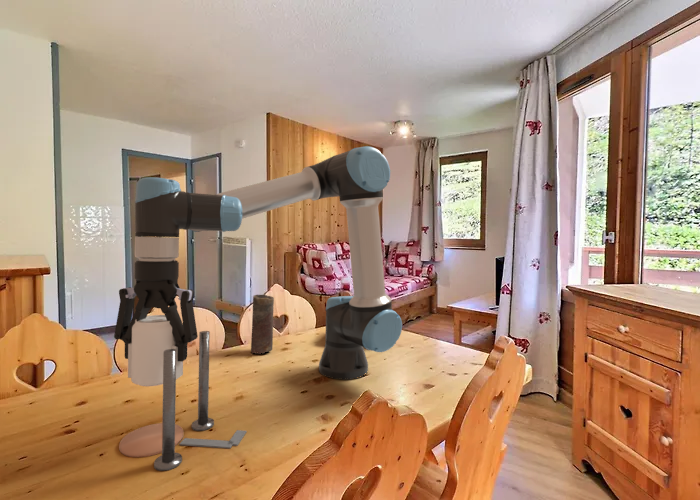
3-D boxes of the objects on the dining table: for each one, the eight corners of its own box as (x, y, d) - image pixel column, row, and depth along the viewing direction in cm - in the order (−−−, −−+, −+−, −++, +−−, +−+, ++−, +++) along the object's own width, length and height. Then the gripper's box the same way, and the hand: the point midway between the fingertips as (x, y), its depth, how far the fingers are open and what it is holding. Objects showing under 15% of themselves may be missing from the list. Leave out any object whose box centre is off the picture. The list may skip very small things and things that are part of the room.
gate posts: (217, 421, 79) (219, 329, 78) (173, 471, 61) (175, 355, 61) (197, 419, 79) (199, 329, 78) (148, 470, 62) (150, 354, 61)
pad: (193, 427, 76) (193, 424, 76) (163, 459, 65) (163, 455, 65) (143, 424, 76) (143, 421, 76) (104, 455, 65) (104, 451, 65)
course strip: (246, 432, 74) (246, 430, 74) (235, 448, 69) (235, 447, 68) (194, 428, 75) (194, 427, 75) (179, 445, 69) (179, 443, 69)
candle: (263, 347, 132) (264, 293, 132) (277, 351, 128) (278, 295, 128) (246, 352, 126) (247, 295, 126) (260, 357, 122) (261, 298, 121)
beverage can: (143, 372, 74) (144, 314, 74) (184, 372, 75) (185, 314, 74) (122, 388, 66) (123, 323, 66) (168, 388, 67) (169, 323, 66)
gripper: (218, 260, 73) (216, 371, 73) (119, 257, 74) (118, 366, 75) (200, 262, 65) (198, 386, 66) (90, 258, 67) (89, 380, 67)
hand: (155, 376), depth 70 cm, fingers closed on beverage can, 8 cm apart
